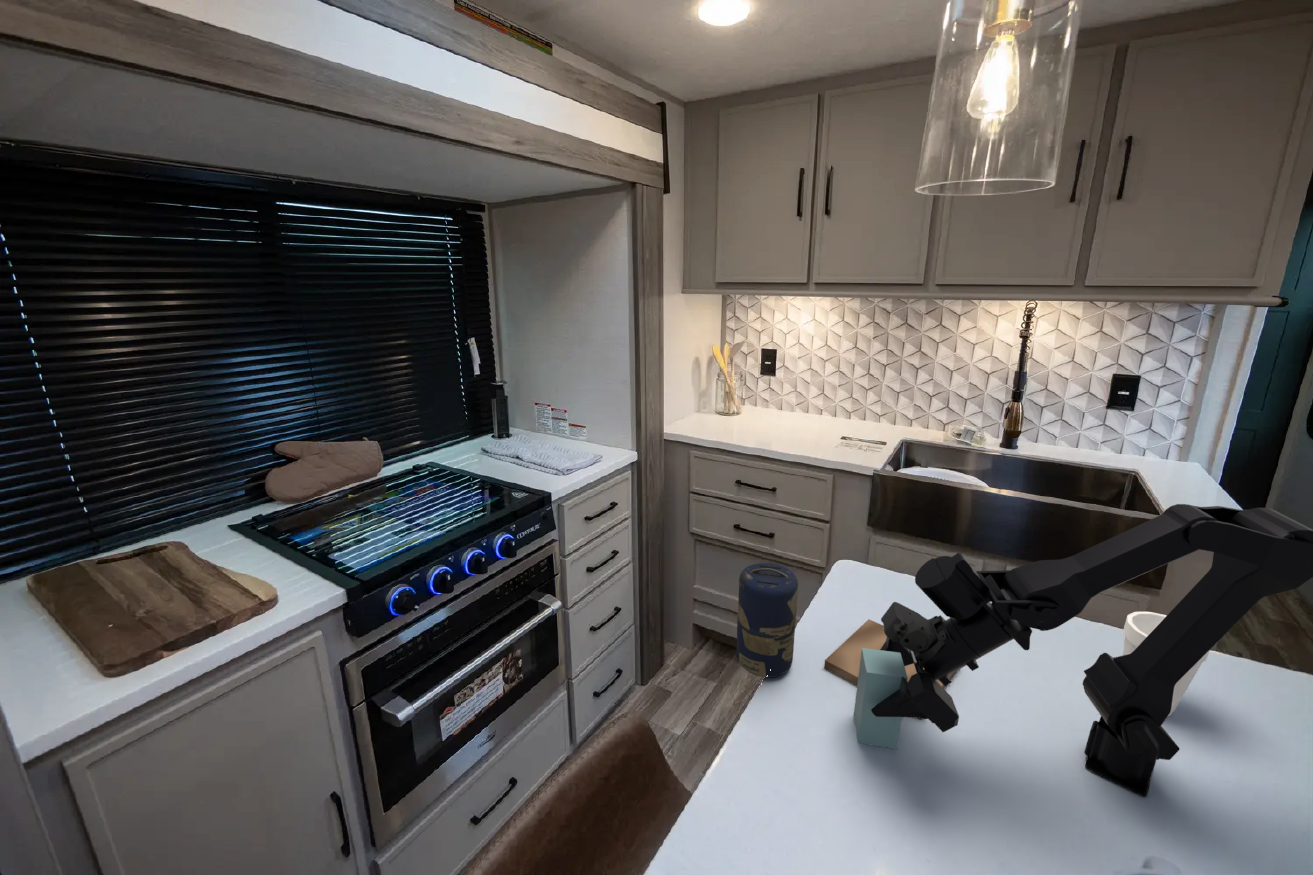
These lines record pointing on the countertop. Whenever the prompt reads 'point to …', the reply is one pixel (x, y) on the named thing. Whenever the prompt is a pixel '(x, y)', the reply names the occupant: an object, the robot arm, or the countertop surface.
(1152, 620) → the foam cup
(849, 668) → the stand
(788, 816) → the countertop surface
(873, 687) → the tall sage green block
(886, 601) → the countertop surface
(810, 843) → the countertop surface
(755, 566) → the canister
